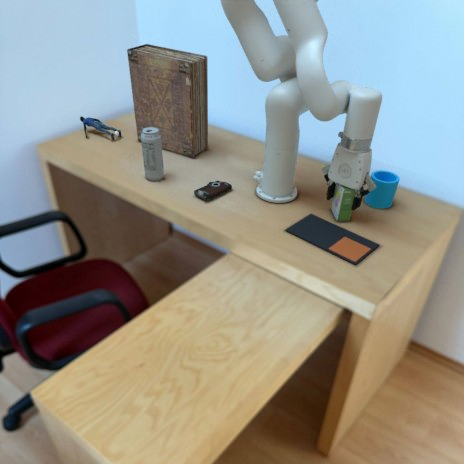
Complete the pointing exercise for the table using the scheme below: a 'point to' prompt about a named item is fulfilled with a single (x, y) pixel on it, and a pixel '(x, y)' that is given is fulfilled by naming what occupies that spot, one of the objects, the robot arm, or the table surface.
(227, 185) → the camera
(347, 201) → the ink box
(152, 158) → the energy drink can
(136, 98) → the book
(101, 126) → the person figurine
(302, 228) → the desk mat
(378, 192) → the mug
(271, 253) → the table surface
